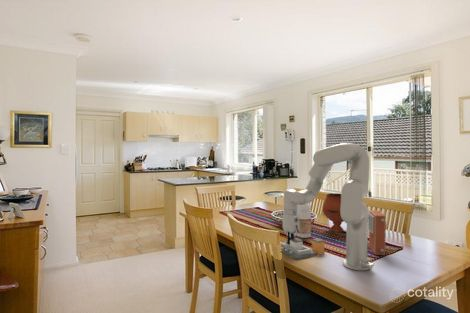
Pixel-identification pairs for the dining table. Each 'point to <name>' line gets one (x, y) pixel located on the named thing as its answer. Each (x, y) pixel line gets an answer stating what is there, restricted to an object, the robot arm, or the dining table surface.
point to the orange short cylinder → (318, 245)
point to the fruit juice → (304, 220)
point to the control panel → (377, 232)
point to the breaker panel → (296, 251)
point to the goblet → (333, 211)
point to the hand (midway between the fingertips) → (290, 243)
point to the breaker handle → (296, 243)
